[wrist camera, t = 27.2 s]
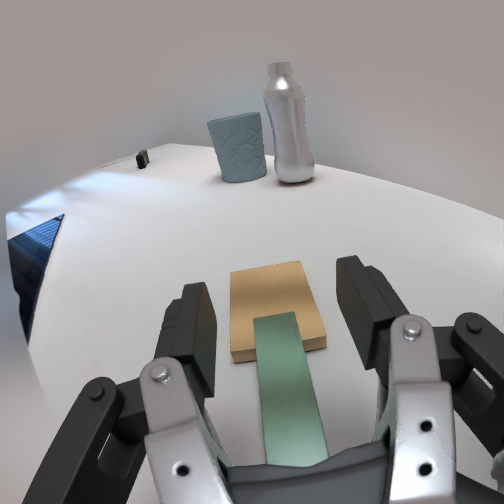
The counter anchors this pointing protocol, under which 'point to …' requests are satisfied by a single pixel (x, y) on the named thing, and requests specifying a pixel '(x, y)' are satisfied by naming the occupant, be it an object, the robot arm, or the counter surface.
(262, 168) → the blue-grey embossed cup
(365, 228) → the counter surface
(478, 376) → the robot arm
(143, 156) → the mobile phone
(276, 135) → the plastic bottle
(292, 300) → the spatula
